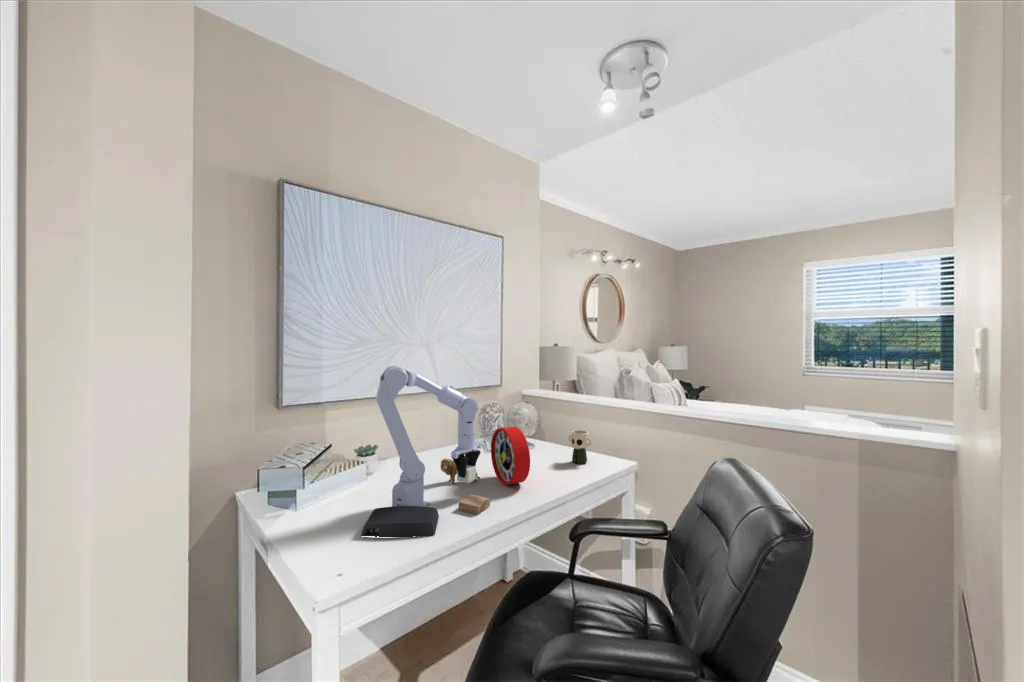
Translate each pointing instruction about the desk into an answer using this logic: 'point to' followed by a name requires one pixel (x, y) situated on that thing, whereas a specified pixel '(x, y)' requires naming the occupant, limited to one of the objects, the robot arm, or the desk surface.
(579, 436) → the character mug
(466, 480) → the sage brick
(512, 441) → the toy clock
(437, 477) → the desk surface
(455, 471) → the lion figurine
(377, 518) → the external hard drive
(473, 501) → the base brick
